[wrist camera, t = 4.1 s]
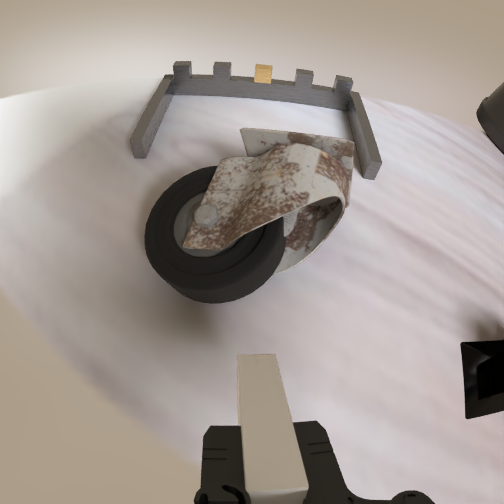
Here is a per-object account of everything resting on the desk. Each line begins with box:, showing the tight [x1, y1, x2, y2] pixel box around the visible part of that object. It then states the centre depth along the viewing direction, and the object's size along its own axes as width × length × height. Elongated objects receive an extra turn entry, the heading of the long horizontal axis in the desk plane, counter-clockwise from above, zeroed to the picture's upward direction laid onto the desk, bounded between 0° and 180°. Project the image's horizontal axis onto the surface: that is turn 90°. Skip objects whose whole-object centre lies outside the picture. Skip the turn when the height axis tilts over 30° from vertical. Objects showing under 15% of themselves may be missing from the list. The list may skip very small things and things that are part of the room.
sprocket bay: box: [130, 61, 382, 180], centre depth 27 cm, size 20×11×4 cm, turn 86°
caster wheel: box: [145, 128, 355, 303], centre depth 19 cm, size 7×11×10 cm
